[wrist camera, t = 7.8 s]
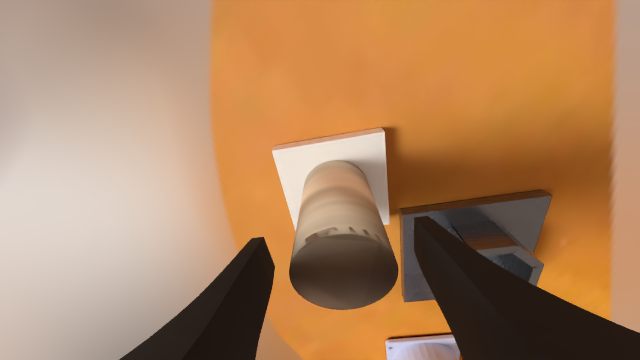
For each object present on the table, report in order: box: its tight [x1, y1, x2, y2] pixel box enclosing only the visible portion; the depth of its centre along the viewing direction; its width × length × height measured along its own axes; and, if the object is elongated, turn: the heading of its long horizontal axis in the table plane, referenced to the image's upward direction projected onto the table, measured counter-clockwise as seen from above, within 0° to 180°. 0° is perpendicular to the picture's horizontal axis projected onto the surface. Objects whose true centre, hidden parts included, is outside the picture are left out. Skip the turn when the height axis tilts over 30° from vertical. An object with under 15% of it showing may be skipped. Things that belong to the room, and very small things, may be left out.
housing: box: [400, 190, 552, 302], centre depth 18 cm, size 10×10×3 cm
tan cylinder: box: [289, 160, 398, 310], centre depth 12 cm, size 4×4×7 cm
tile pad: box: [272, 128, 390, 231], centre depth 16 cm, size 7×7×1 cm
